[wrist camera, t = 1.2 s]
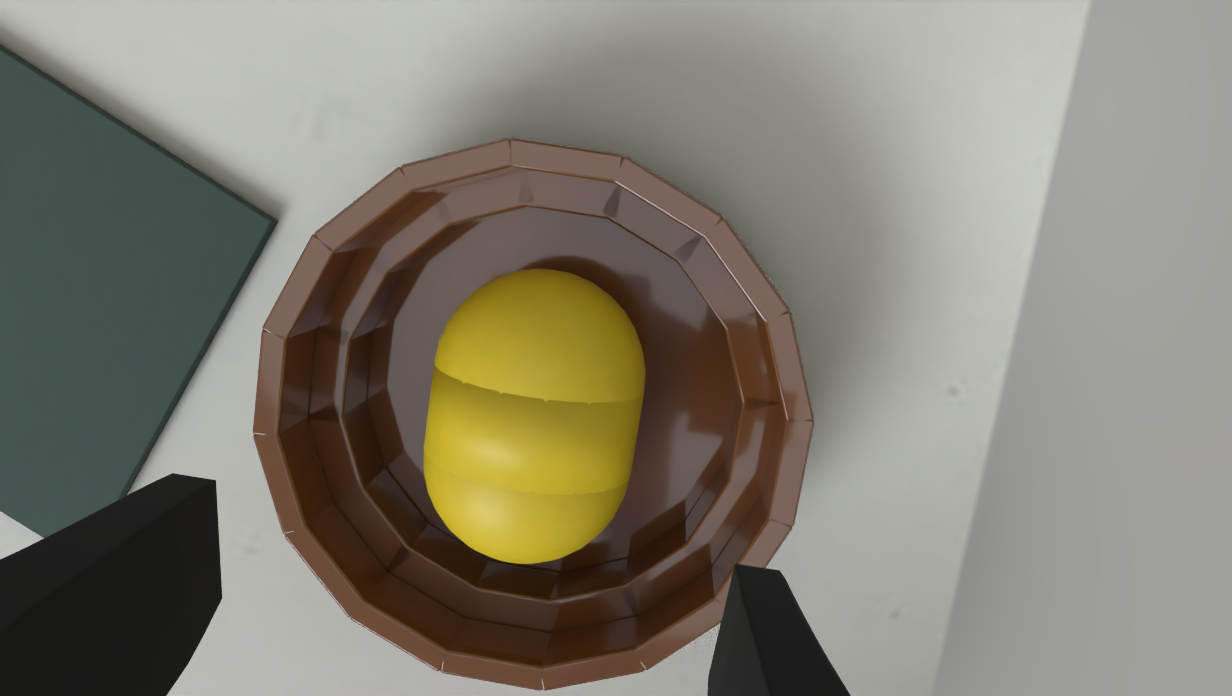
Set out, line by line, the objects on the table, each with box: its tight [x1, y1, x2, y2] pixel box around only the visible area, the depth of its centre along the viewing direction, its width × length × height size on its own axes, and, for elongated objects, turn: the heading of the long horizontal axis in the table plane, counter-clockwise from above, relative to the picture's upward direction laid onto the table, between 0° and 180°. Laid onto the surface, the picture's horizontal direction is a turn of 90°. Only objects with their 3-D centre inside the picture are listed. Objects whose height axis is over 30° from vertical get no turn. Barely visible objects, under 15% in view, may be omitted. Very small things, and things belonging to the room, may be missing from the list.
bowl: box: [253, 138, 814, 690], centre depth 22 cm, size 12×12×4 cm
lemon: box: [424, 269, 646, 564], centre depth 22 cm, size 7×5×5 cm
